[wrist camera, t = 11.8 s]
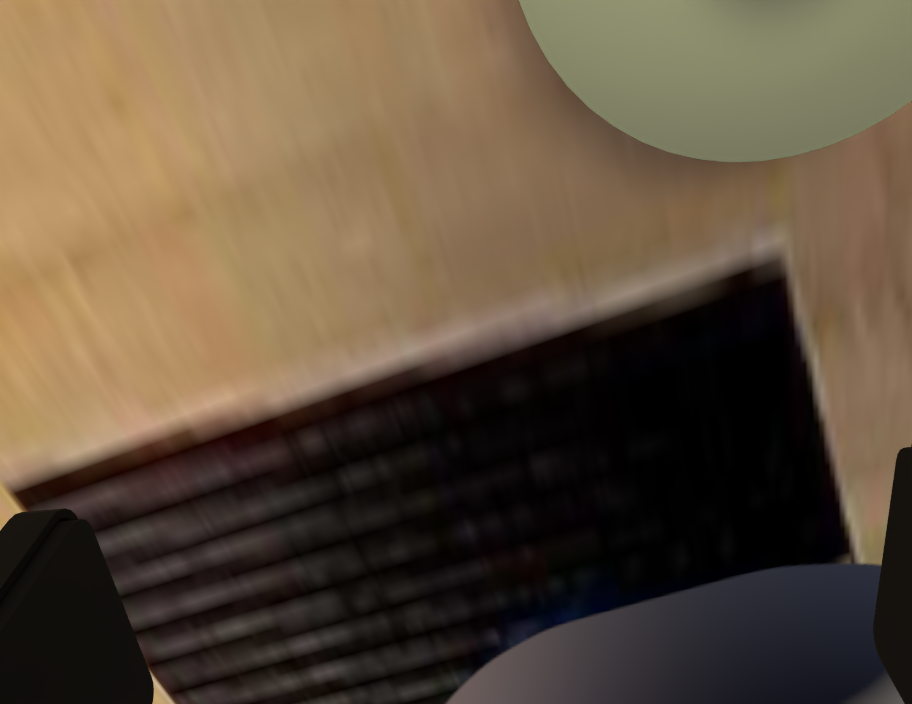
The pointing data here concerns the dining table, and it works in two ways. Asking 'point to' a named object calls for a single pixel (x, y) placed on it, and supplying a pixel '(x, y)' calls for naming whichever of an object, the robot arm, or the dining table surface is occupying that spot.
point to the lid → (731, 69)
